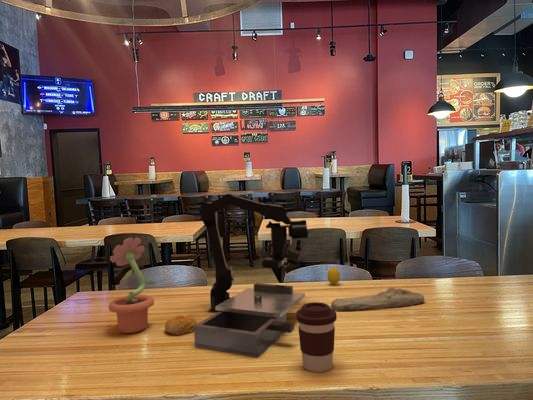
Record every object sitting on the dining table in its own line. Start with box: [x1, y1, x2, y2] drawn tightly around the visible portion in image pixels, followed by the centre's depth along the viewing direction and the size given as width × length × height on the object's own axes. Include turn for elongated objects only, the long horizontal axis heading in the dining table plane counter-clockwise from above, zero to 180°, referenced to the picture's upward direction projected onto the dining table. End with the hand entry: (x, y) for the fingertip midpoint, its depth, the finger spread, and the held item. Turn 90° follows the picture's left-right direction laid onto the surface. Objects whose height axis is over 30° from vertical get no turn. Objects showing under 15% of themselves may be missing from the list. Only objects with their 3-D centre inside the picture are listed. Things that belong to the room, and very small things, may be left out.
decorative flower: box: [108, 237, 157, 334], centre depth 126 cm, size 15×14×30 cm
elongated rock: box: [330, 286, 425, 312], centre depth 141 cm, size 35×5×10 cm
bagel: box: [164, 315, 198, 336], centre depth 125 cm, size 10×11×5 cm
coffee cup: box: [295, 301, 338, 373], centre depth 97 cm, size 10×10×15 cm
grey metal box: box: [193, 311, 295, 358], centre depth 115 cm, size 26×20×6 cm
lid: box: [215, 282, 306, 318], centre depth 128 cm, size 22×22×4 cm
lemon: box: [326, 266, 341, 286], centre depth 170 cm, size 6×6×8 cm
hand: (280, 282), depth 143 cm, fingers closed
